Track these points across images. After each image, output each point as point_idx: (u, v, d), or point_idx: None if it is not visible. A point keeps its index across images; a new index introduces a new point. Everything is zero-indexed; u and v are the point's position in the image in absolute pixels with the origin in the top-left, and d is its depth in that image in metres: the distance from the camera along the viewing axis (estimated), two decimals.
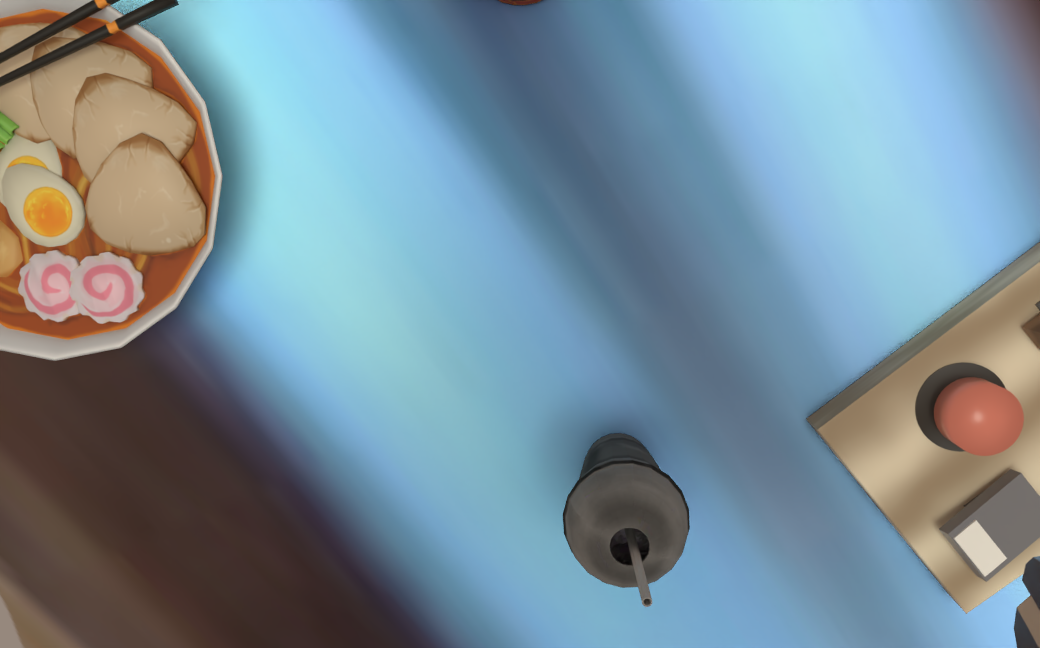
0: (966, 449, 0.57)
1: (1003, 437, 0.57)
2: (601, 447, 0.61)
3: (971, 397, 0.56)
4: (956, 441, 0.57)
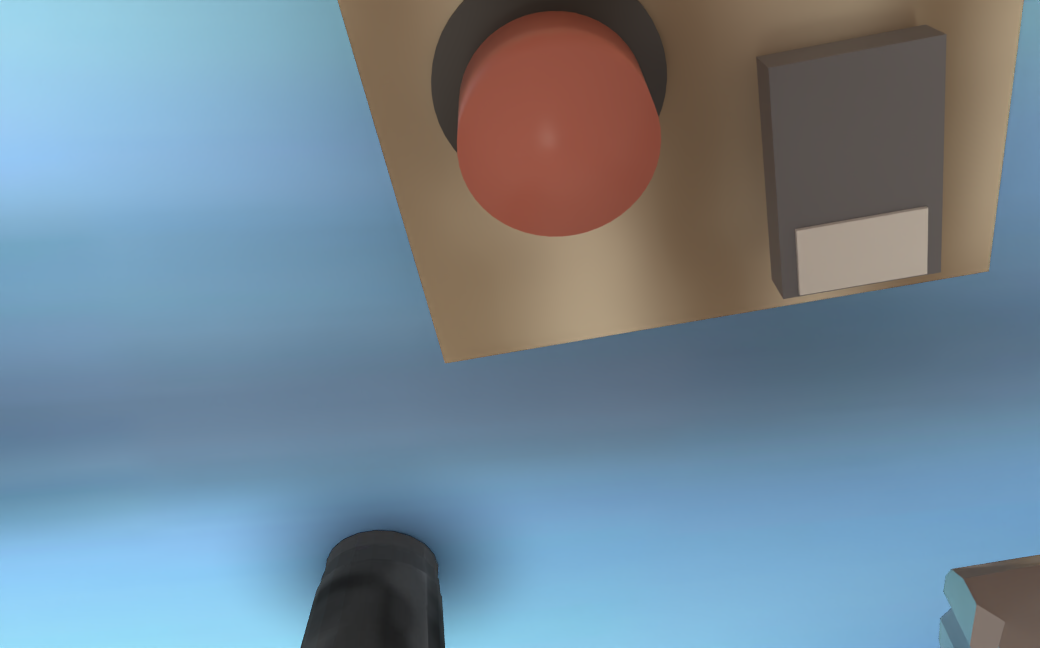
0: (604, 220, 0.21)
1: (626, 127, 0.20)
2: None
3: (480, 155, 0.20)
4: (571, 232, 0.21)
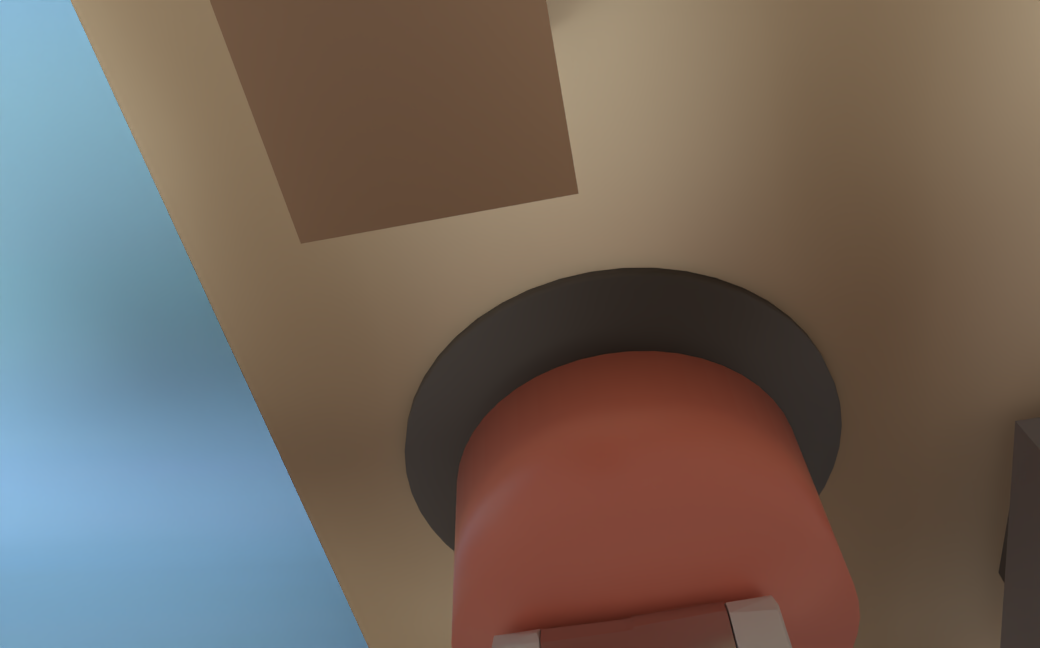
0: None
1: (792, 616, 0.10)
2: None
3: None
4: None
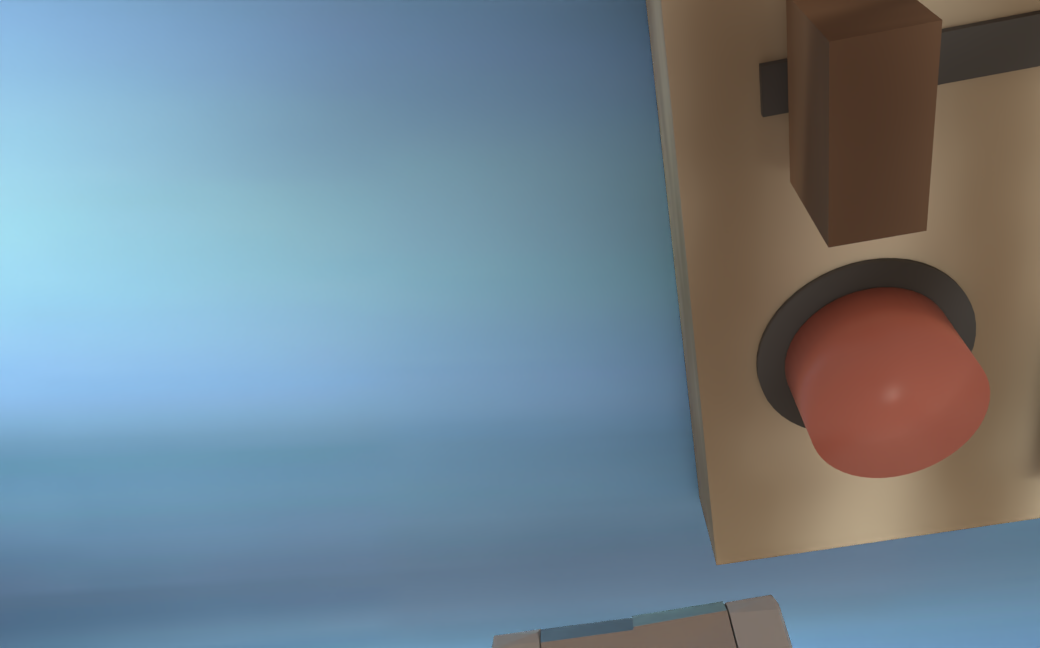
0: (923, 465, 0.24)
1: (960, 399, 0.23)
2: None
3: (830, 420, 0.23)
4: (893, 475, 0.24)
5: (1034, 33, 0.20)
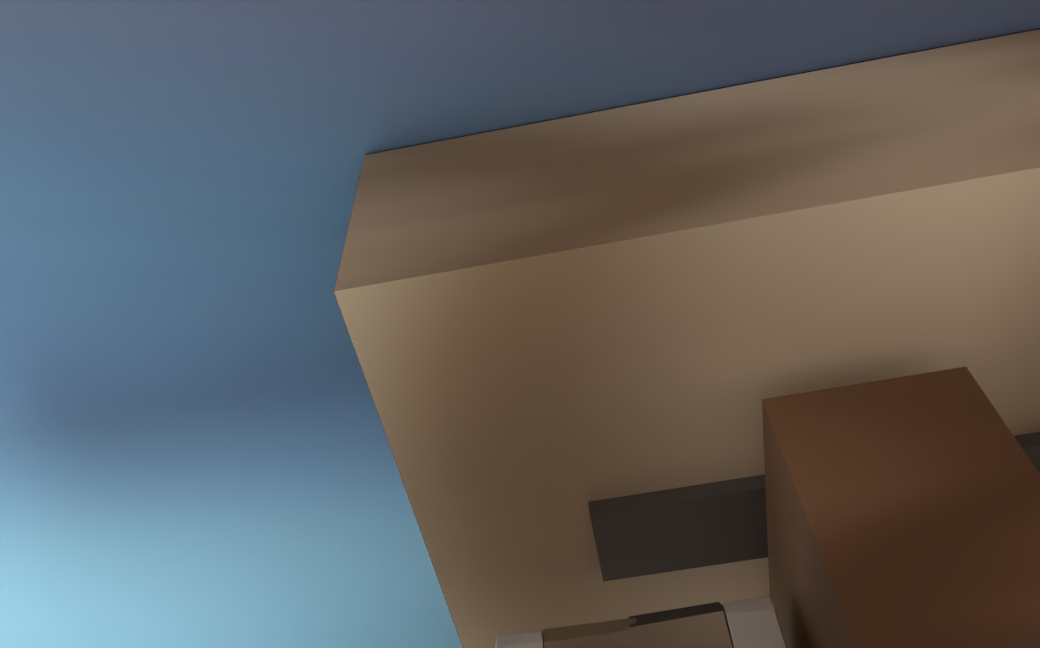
0: None
1: None
2: None
3: None
4: None
5: None
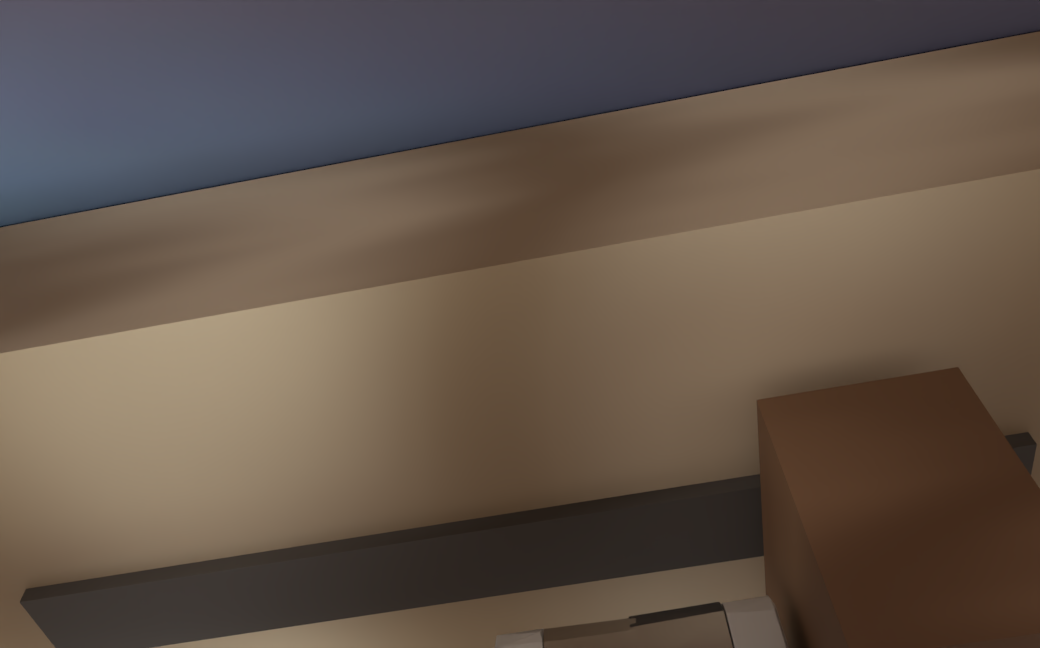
0: None
1: None
2: None
3: None
4: None
5: (504, 550, 0.11)
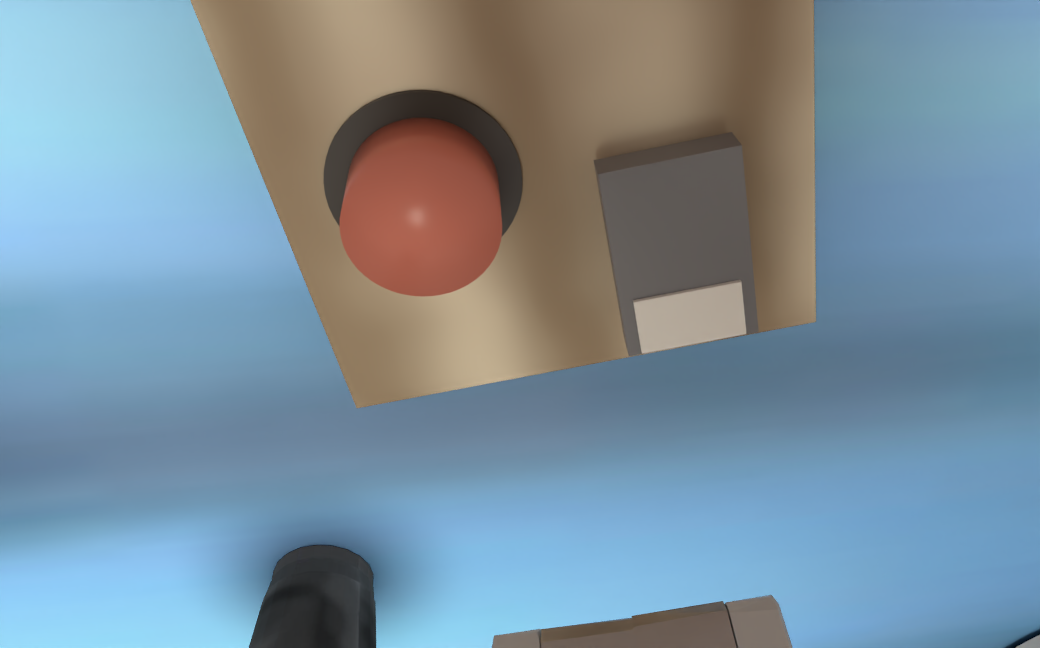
0: (464, 283, 0.27)
1: (473, 213, 0.25)
2: None
3: (359, 237, 0.25)
4: (438, 293, 0.27)
5: None
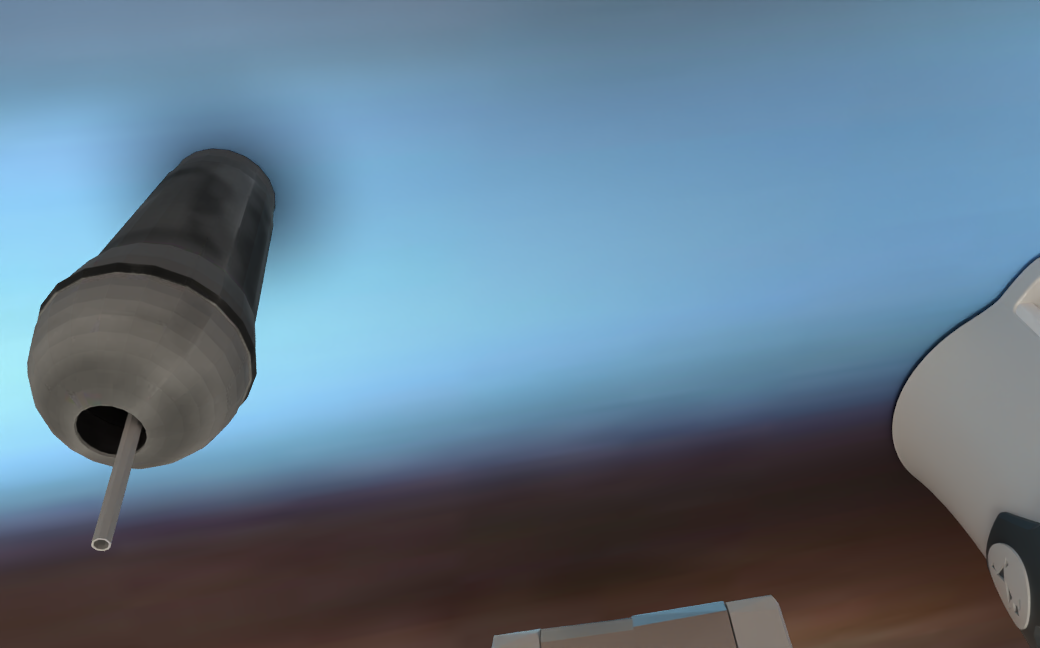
0: None
1: None
2: None
3: None
4: None
5: None
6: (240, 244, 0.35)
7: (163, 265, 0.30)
